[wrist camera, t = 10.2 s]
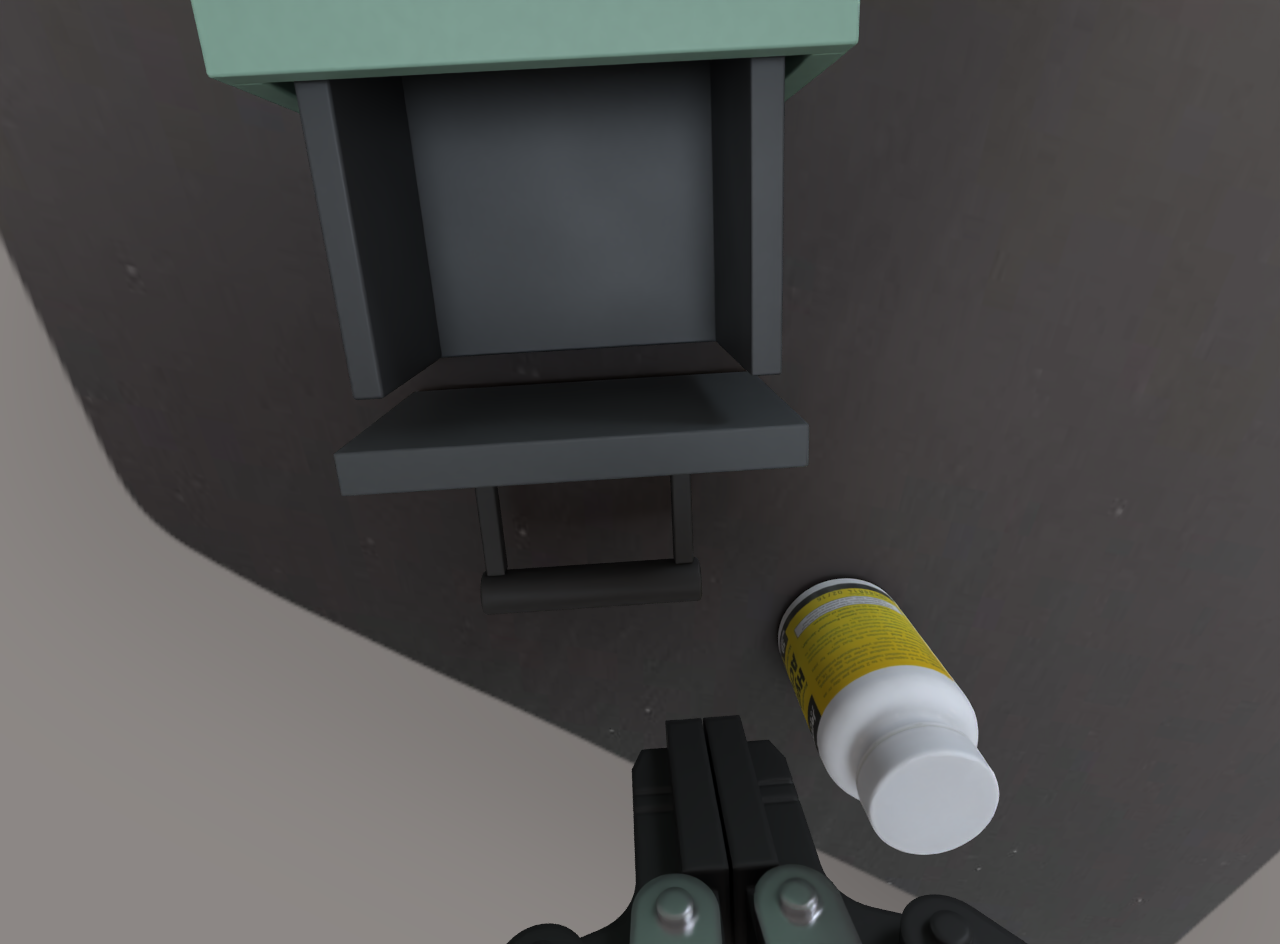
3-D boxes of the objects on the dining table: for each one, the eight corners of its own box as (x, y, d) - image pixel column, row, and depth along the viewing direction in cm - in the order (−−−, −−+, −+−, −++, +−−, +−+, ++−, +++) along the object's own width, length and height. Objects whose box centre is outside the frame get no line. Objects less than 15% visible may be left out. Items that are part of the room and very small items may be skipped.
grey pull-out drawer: (752, 533, 28) (804, 640, 20) (439, 553, 27) (375, 670, 20) (751, -61, 21) (825, -220, 14) (344, -41, 21) (200, -192, 14)
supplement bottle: (751, 615, 30) (816, 785, 21) (865, 551, 29) (984, 698, 20) (810, 703, 31) (894, 899, 22) (918, 646, 31) (1052, 822, 21)
